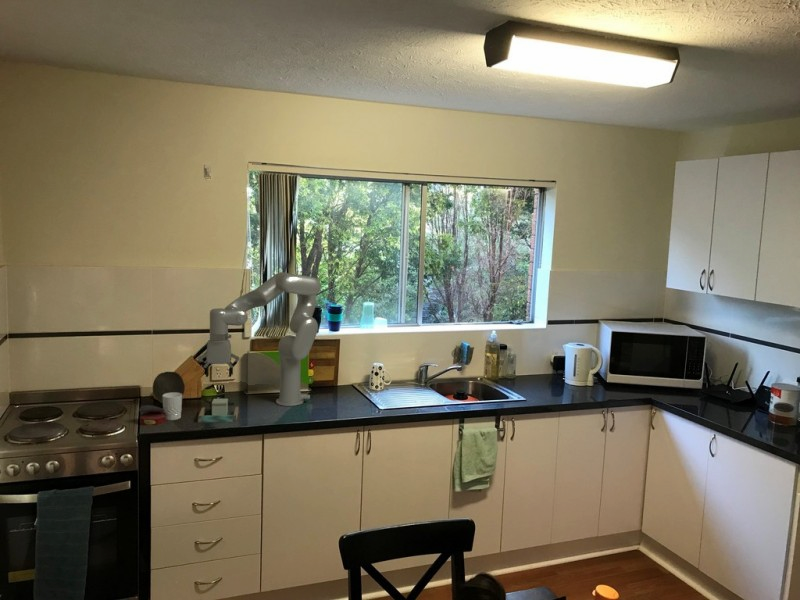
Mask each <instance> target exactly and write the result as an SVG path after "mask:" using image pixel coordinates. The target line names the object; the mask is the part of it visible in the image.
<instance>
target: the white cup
mask: <svg viewBox="0 0 800 600" xmlns="http://www.w3.org/2000/svg"><path fill="white" fill-rule="evenodd" d="M162 398H163V404H162V409H164V410H165V411H163V413H165V421H175V420H179V419H181V417H182V410H183V409H182V405H183V396H182V394H181V393H176V392H173V393H166V394H163V395H162Z"/></svg>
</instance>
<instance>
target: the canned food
mask: <svg viewBox="0 0 800 600" xmlns="http://www.w3.org/2000/svg"><path fill="white" fill-rule="evenodd" d="M138 410H139V412H142V414H140V416H139V423H140V425H141V424H142V426H145V425H147V426H148V425H154V426H159V425H158V424H160V425H162V423H163V424H165V423H166V419H165V413H164V411H165V410H164V409H163V407H162V408H161V407H158V406H155V405H150V404H145V405H142V406H140V408H139V409H138ZM164 422H165V423H164ZM147 426H146V427H147ZM148 427H149V426H148Z"/></svg>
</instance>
